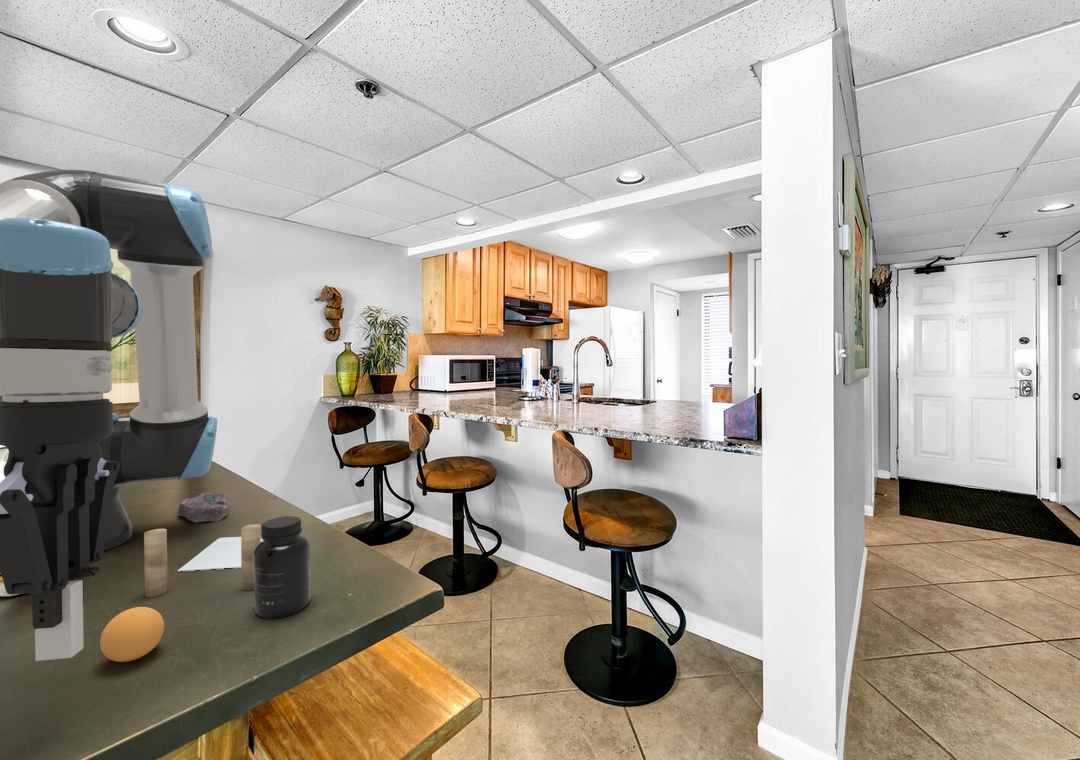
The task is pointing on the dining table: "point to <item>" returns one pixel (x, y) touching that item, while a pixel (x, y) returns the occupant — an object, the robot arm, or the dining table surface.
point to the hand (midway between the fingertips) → (60, 654)
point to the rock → (204, 507)
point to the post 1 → (155, 562)
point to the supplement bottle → (281, 568)
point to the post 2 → (248, 554)
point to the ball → (132, 634)
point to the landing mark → (217, 556)
